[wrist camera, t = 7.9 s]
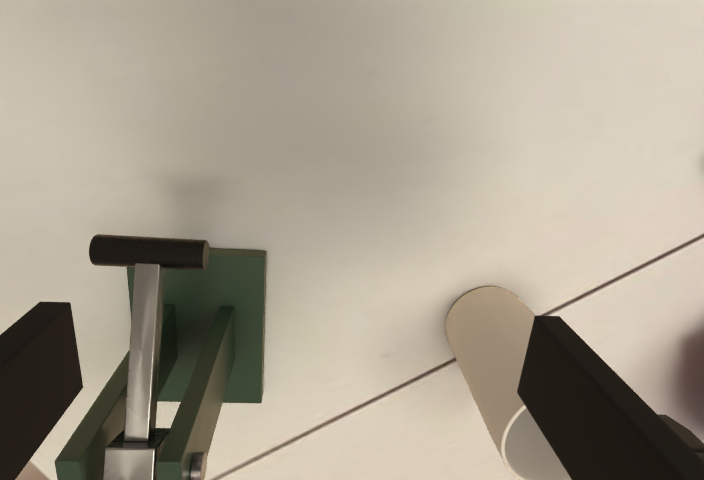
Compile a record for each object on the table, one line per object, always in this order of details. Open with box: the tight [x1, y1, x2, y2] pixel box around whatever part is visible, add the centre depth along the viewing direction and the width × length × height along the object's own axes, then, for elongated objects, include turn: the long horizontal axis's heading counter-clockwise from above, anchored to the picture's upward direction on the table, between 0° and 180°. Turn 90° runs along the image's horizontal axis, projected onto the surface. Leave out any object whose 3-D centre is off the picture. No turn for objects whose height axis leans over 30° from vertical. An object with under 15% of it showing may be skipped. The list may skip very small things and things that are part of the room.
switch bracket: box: [55, 248, 267, 480], centre depth 27 cm, size 12×9×15 cm
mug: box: [445, 287, 572, 480], centre depth 30 cm, size 10×7×12 cm, turn 12°
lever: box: [89, 234, 209, 480], centre depth 21 cm, size 12×5×2 cm, turn 175°
